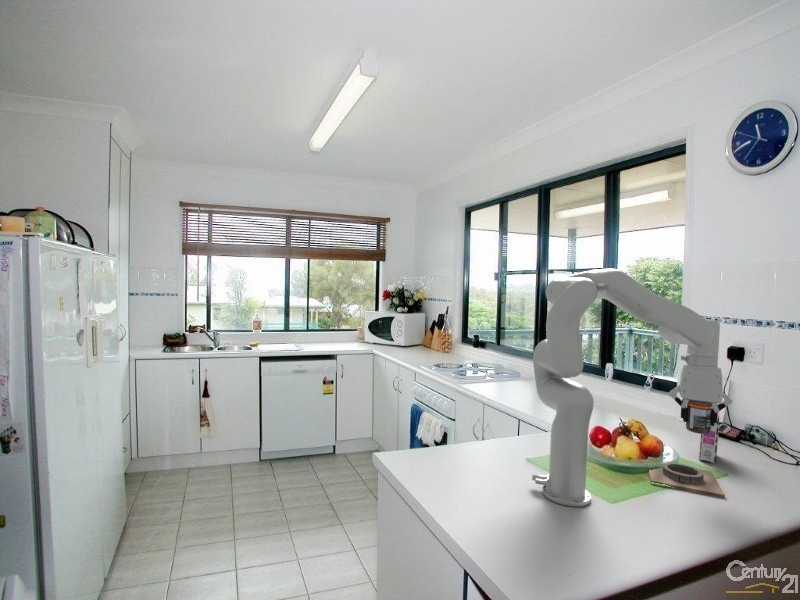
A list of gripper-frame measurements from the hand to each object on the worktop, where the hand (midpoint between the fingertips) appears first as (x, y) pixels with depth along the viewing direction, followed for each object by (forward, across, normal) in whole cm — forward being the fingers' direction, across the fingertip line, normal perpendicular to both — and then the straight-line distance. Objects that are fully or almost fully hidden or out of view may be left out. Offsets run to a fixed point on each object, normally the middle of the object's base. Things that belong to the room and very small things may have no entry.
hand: (698, 422), depth 129 cm
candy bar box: (+20, +8, +32) cm, 38 cm away
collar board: (+19, -2, +6) cm, 20 cm away
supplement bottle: (+3, 0, 0) cm, 3 cm away
